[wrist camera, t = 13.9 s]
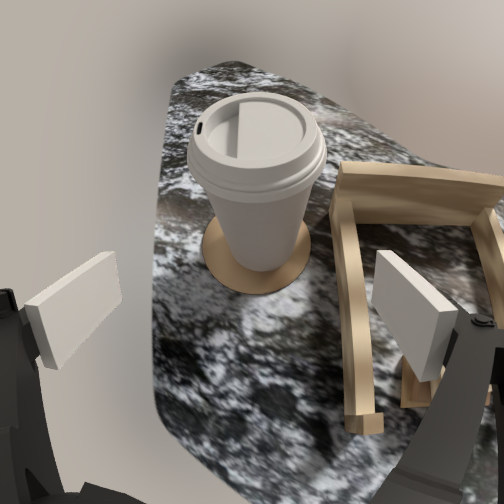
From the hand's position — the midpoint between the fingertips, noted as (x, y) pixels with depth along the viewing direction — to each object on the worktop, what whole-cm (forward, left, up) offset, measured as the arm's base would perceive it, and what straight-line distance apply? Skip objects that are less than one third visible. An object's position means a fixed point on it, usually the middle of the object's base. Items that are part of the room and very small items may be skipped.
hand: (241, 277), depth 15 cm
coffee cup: (-6, -8, -14) cm, 18 cm away
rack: (-16, +8, -15) cm, 23 cm away
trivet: (-6, -8, -15) cm, 18 cm away
